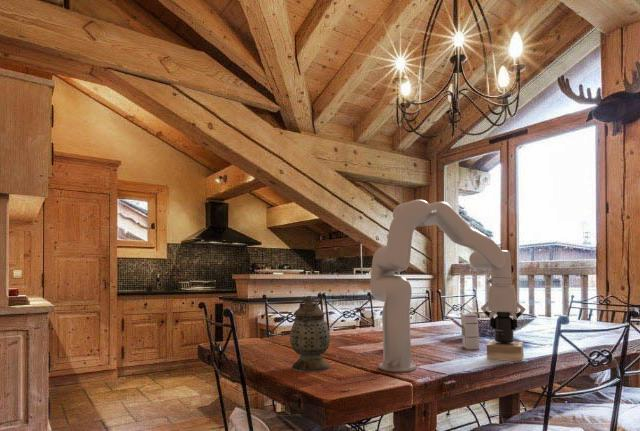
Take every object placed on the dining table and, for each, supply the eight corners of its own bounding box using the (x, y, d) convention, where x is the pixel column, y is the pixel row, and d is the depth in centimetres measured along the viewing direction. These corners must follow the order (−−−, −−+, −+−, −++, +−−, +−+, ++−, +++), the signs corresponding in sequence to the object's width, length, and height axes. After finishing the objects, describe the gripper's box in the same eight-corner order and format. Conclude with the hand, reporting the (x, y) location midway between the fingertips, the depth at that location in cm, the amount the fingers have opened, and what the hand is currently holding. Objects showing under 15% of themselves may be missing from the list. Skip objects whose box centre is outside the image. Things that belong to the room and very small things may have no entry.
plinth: (521, 361, 173) (521, 346, 174) (487, 358, 178) (486, 344, 179) (523, 355, 184) (522, 341, 184) (490, 353, 189) (490, 340, 189)
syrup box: (480, 349, 198) (478, 314, 200) (465, 349, 198) (464, 314, 200) (475, 347, 204) (474, 312, 205) (461, 347, 204) (460, 312, 205)
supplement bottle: (495, 342, 179) (493, 310, 181) (494, 340, 186) (492, 308, 187) (514, 343, 177) (513, 310, 179) (513, 340, 184) (511, 309, 185)
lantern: (339, 367, 166) (337, 295, 168) (309, 374, 156) (308, 297, 158) (311, 362, 176) (310, 294, 178) (281, 368, 166) (281, 296, 168)
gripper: (476, 282, 184) (478, 329, 182) (525, 282, 177) (528, 331, 175) (479, 281, 191) (481, 327, 189) (526, 282, 184) (528, 329, 182)
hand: (503, 328), depth 182 cm, fingers closed on supplement bottle, 6 cm apart
